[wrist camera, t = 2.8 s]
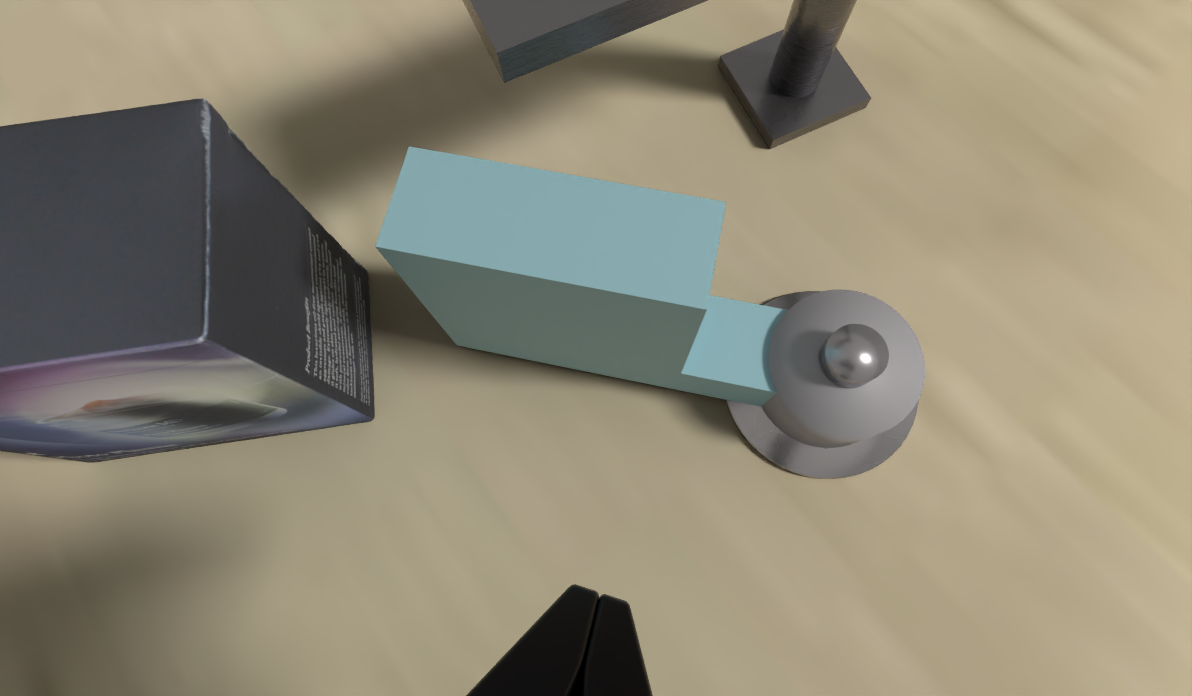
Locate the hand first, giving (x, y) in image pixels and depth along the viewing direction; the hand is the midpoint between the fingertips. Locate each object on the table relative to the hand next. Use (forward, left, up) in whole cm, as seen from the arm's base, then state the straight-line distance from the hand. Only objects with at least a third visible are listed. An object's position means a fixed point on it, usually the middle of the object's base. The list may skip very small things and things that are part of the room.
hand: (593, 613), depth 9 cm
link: (+5, +6, -12) cm, 15 cm away
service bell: (+10, +3, -13) cm, 16 cm away
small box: (-10, +12, -13) cm, 20 cm away
